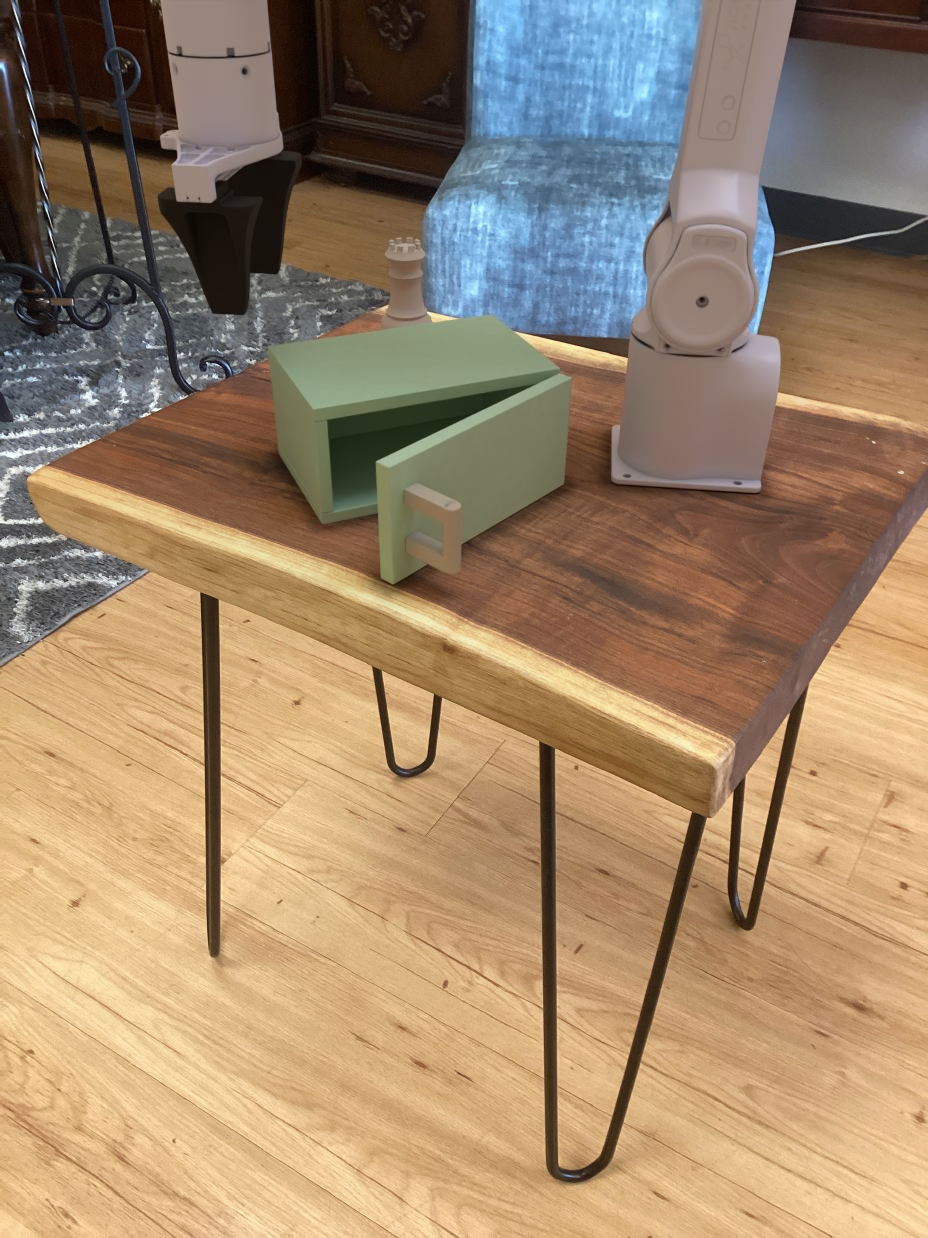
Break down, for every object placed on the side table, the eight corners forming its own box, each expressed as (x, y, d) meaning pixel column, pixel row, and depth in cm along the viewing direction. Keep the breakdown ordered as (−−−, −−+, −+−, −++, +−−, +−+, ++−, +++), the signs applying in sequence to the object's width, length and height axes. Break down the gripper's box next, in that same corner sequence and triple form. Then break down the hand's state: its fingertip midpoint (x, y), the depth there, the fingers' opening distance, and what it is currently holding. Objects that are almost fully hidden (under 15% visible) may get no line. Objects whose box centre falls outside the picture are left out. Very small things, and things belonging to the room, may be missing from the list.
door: (609, 502, 65) (620, 393, 61) (439, 610, 56) (439, 490, 51) (552, 479, 67) (559, 372, 63) (380, 578, 58) (374, 461, 54)
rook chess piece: (370, 343, 86) (365, 244, 81) (397, 326, 89) (395, 230, 85) (417, 353, 84) (415, 253, 80) (443, 335, 88) (443, 238, 83)
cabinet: (552, 478, 68) (560, 367, 63) (322, 525, 63) (312, 409, 58) (489, 416, 75) (492, 313, 71) (278, 454, 70) (267, 345, 66)
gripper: (192, 31, 64) (220, 253, 72) (99, 69, 53) (145, 329, 61) (304, 34, 64) (320, 258, 72) (235, 73, 52) (263, 335, 60)
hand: (247, 291), depth 66 cm, fingers open, 7 cm apart
